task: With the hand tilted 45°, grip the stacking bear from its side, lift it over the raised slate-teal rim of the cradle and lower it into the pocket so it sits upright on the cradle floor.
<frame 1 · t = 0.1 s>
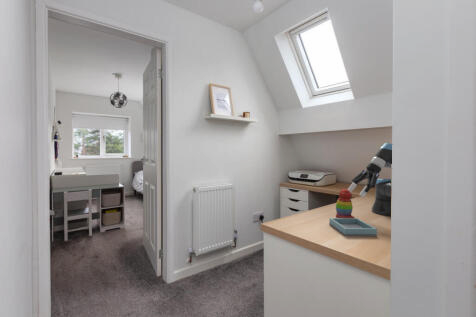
hand: (354, 193, 140), 15 cm above the table, tool tilted 35°, fingers open, 13 cm apart
seat cradle: (351, 229, 121), on the table
stacking bear: (344, 218, 142), on the table
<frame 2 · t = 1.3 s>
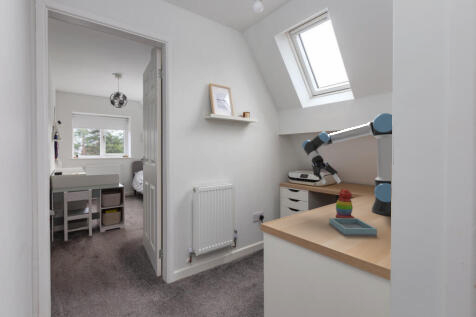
hand: (332, 182, 150), 20 cm above the table, tool tilted 45°, fingers open, 13 cm apart
nothing on the table moved.
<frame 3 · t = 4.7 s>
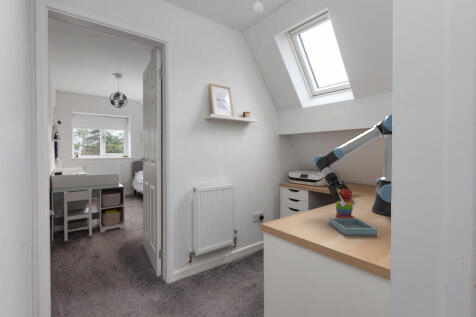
hand: (349, 204, 138), 9 cm above the table, tool tilted 45°, fingers closed on stacking bear, 8 cm apart
stacking bear: (344, 218, 142), on the table, touching gripper
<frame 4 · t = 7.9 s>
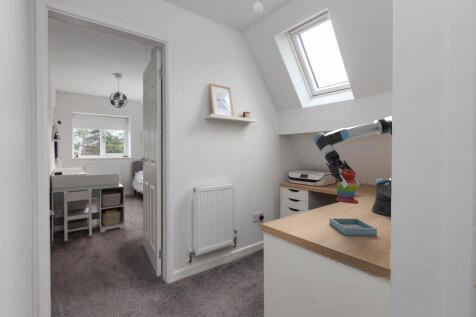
hand: (352, 186, 122), 23 cm above the table, tool tilted 45°, fingers closed on stacking bear, 8 cm apart
stacking bear: (345, 201, 126), point 13 cm above the table, touching gripper
when the fingers open (11 cm above the table, at t = 11.3 s): stacking bear drops 1 cm, resting on seat cradle.
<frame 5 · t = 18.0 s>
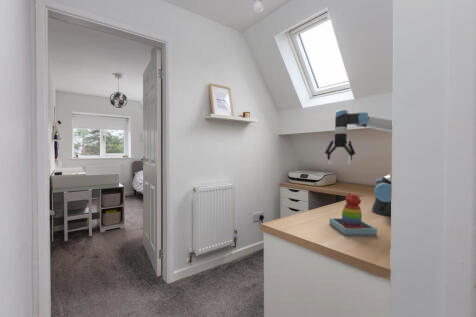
hand: (339, 164, 158), 32 cm above the table, tool pointing down, fingers open, 13 cm apart
stacking bear: (351, 227, 121), point 1 cm above the table, touching seat cradle
at the end: stacking bear 0.6 cm off-centre on the seat cradle, point 0.8 cm above the seat cradle's base; stacking bear tilted 0°; the gripper is holding nothing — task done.
